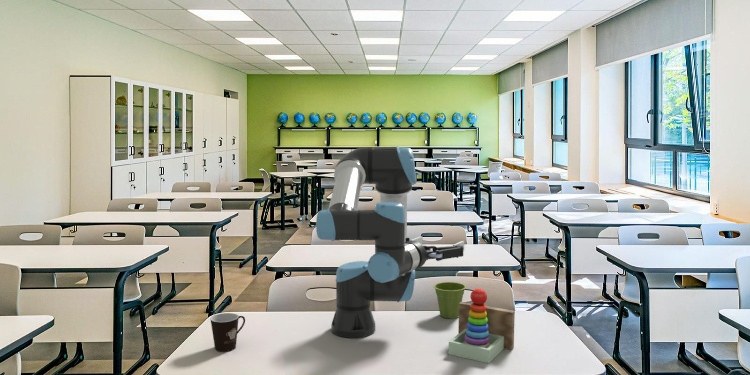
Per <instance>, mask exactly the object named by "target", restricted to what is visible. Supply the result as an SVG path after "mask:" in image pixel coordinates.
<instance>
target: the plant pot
mask: <svg viewBox="0 0 750 375" xmlns="http://www.w3.org/2000/svg"><path fill="white" fill-rule="evenodd" d="M433 288H434V289H435V294H436V297H437V304H438V309H439V316H440V317H441V318H444V319H445V318H448V319H457V318H459V303H460V302H463V296H464V294H465V289H466V288H467V286H466V285H465V284H464V283H461V282H454V281H442V282H437V283H435V284H434V285H433Z"/></svg>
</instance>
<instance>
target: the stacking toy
mask: <svg viewBox="0 0 750 375" xmlns="http://www.w3.org/2000/svg"><path fill="white" fill-rule="evenodd" d="M487 299H488V295H487V292H486V291H485V290H484V289H482V288H480V287H478V288H475V289H473V290H472V291H471V292H470V301H471V302H472V303H471V305H470V309H471V310H470V311H469V315H470V316H469V317H468V321H469V322H468V323H467V330H466V335H465V341H464V344H469V345H473V346H478V347H483V348H488V347H489V346H490V343H489V342H488V341H489V337H488V335H489V331H488V330H487V329H488V324H487V322H488V319H487V317H486V316H487V313H486V311H485V310H486V309H487V307H486V306H487V305H486V304H485V303H486V301H487Z"/></svg>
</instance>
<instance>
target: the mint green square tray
mask: <svg viewBox="0 0 750 375" xmlns="http://www.w3.org/2000/svg"><path fill="white" fill-rule="evenodd" d="M466 330H467V329H464V330H463V331H462V332H460V333H459V334H456V335H455V336H454V337H453V338H451V339H450V340H448V355H451V356H455V357H459V358H462V359H463V358H464V359H467V360H473V361H477V362H482V363H486V364H490V363H491V362H492V361H493V360H494V359H495V358H496V357H497V356H498V355H499V354H501V352H502V351H503V350H504V349H505V348H504V336H499V335H494V334H489V335H488V337H489V341H488V342H489V343H490V346H489V347H488V348H483V347H478V346H473V345H469V344H464V341H465V335H466Z"/></svg>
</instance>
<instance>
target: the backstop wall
mask: <svg viewBox="0 0 750 375" xmlns="http://www.w3.org/2000/svg"><path fill="white" fill-rule="evenodd" d="M471 304H472V303H469V302H464V301H462V302H460V303H459V317H458V330H457V331H458V334H459V333H460V332H462V331H463V330H464V329H467V323H468V322H469V321H468V317H469V316H470V315H469V311H470V310H471V309H470V305H471ZM486 307H487V309H486V310H485V311H486V313H487V316H486V317H487V319H488V322H487V324H488V329H487V330H488V331H489V334H494V335H499V336H504V349H505V350H513V349H514V348H515V320H516V319H515V318H516V317H515V312H516V311H515V310H511V309H505V308H500V307H494V306H488V305H486ZM458 334H457V335H458Z"/></svg>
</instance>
